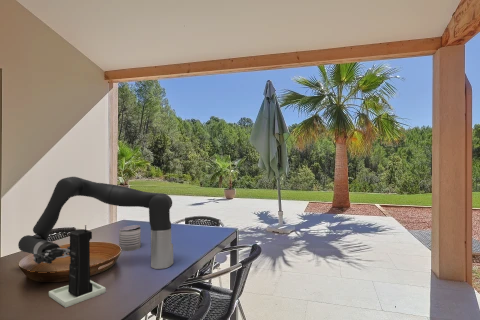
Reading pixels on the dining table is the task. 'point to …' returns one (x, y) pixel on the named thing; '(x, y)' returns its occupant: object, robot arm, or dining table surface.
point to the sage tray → (68, 299)
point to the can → (130, 238)
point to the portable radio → (80, 262)
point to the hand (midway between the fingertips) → (63, 258)
